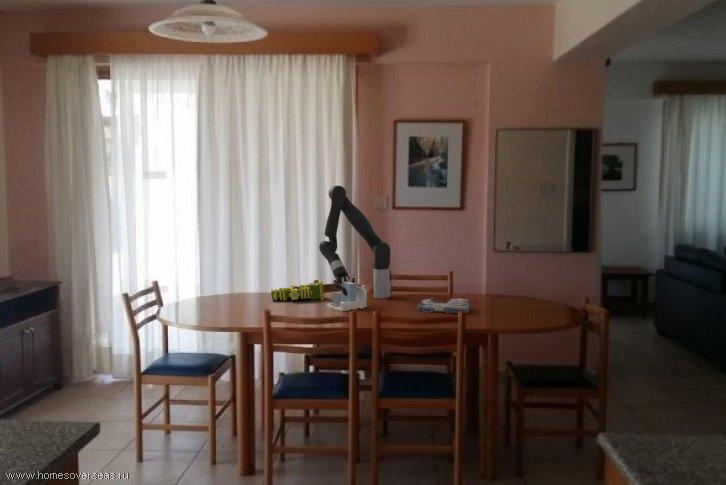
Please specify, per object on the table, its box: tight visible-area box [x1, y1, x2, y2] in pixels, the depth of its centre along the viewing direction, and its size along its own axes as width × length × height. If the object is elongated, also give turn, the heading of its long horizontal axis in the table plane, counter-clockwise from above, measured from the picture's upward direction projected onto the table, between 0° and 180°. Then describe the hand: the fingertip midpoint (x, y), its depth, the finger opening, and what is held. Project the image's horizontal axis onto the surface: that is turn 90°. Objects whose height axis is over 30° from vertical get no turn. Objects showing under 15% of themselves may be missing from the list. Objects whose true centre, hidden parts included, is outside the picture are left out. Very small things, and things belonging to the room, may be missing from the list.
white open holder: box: [326, 285, 368, 312], centre depth 340 cm, size 16×16×10 cm
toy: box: [270, 280, 325, 302], centre depth 362 cm, size 17×10×30 cm
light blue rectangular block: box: [339, 281, 357, 303], centre depth 340 cm, size 4×10×11 cm, turn 33°
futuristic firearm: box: [416, 297, 471, 314], centre depth 332 cm, size 6×28×20 cm
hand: (350, 294), depth 338 cm, fingers closed on light blue rectangular block, 4 cm apart
